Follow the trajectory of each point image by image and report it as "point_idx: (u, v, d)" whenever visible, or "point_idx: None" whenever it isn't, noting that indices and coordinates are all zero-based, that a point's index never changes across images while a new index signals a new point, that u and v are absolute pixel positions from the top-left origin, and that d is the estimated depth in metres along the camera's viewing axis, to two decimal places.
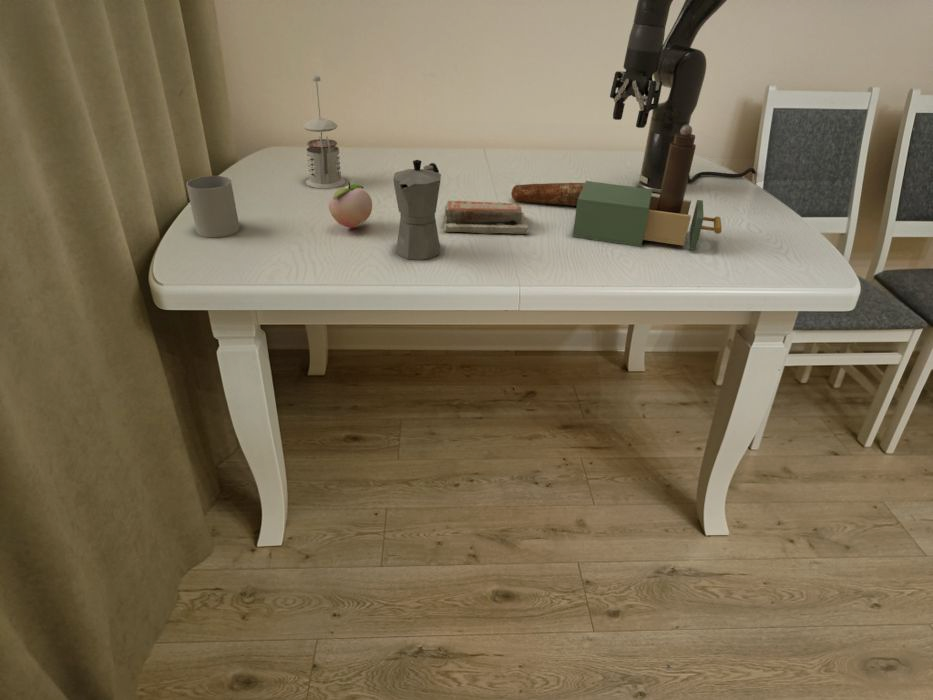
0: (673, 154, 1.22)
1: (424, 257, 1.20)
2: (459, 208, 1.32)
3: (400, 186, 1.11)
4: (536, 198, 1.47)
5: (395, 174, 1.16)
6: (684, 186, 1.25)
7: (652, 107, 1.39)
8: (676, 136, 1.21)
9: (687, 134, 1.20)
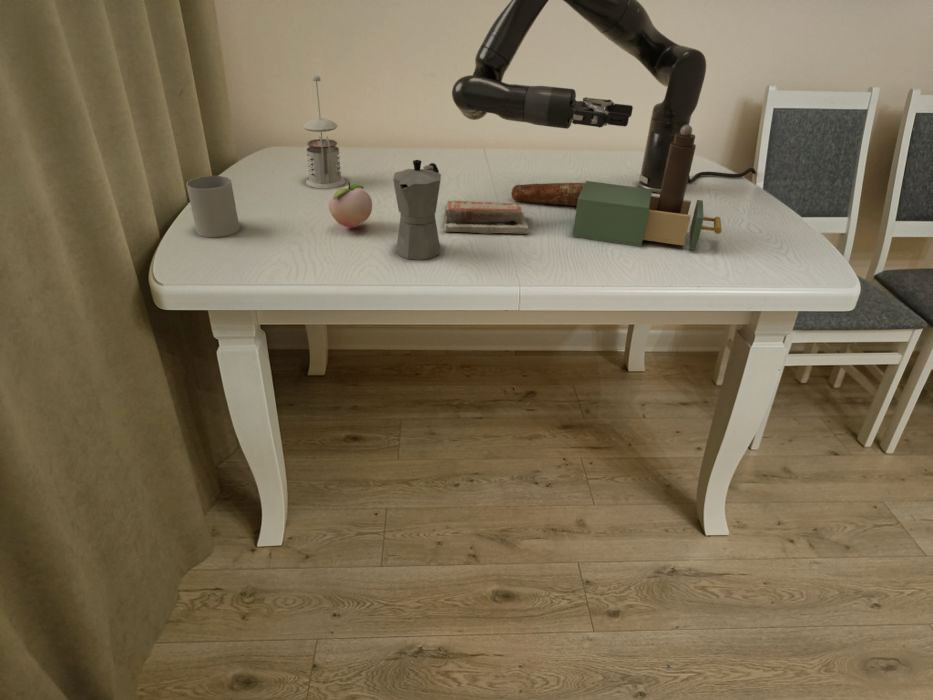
0: (673, 154, 1.22)
1: (424, 257, 1.20)
2: (459, 208, 1.32)
3: (400, 186, 1.11)
4: (536, 198, 1.47)
5: (395, 174, 1.16)
6: (684, 186, 1.25)
7: (600, 121, 1.18)
8: (676, 136, 1.21)
9: (687, 134, 1.20)
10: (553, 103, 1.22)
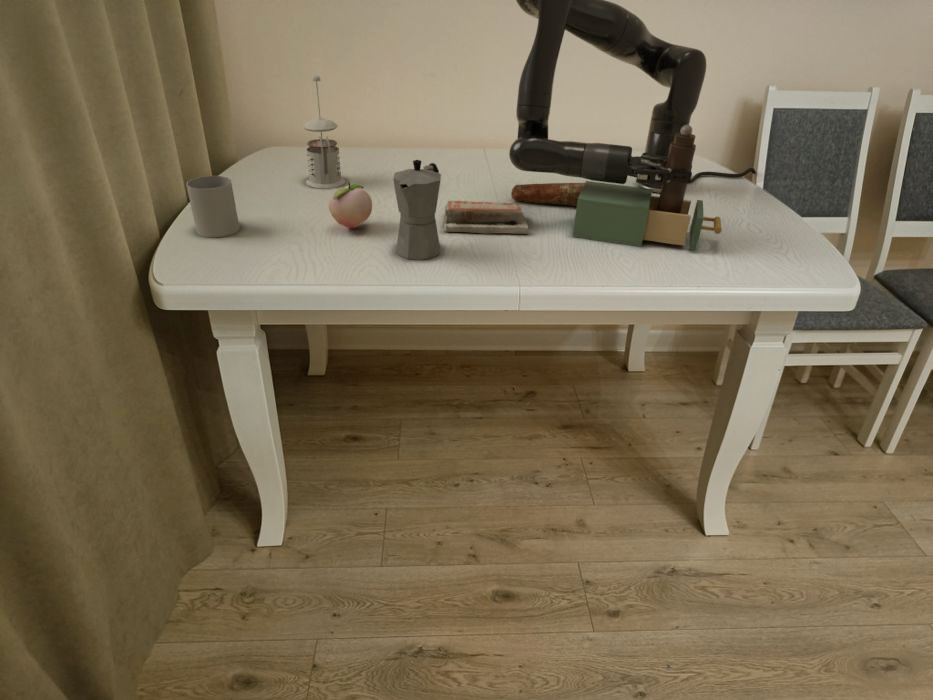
0: (673, 154, 1.22)
1: (424, 257, 1.20)
2: (459, 208, 1.32)
3: (400, 186, 1.11)
4: (536, 198, 1.47)
5: (395, 174, 1.16)
6: (684, 186, 1.25)
7: (664, 179, 1.21)
8: (676, 136, 1.21)
9: (687, 134, 1.20)
10: (611, 161, 1.25)
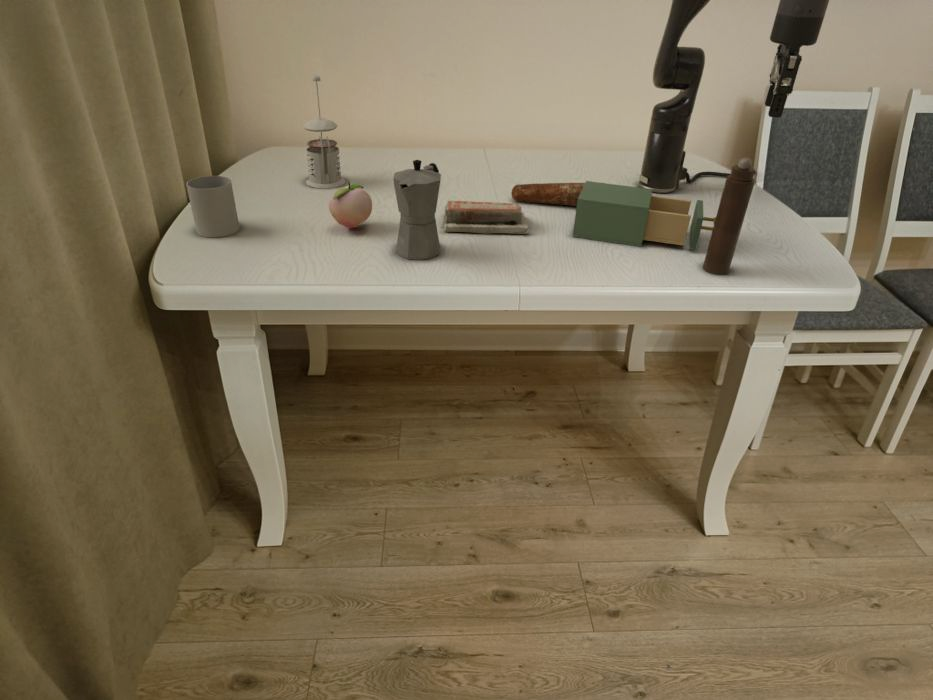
0: (730, 190, 1.11)
1: (424, 257, 1.20)
2: (459, 208, 1.32)
3: (400, 186, 1.11)
4: (536, 198, 1.47)
5: (395, 174, 1.16)
6: (740, 223, 1.14)
7: (782, 90, 1.06)
8: (734, 170, 1.10)
9: (746, 168, 1.09)
10: (809, 23, 1.03)
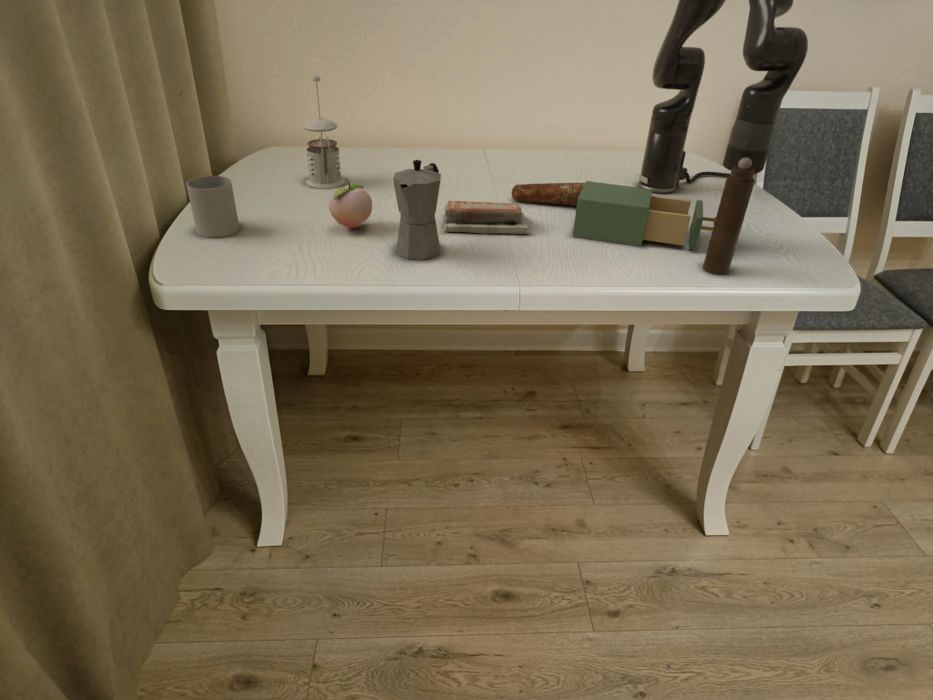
0: (730, 190, 1.11)
1: (424, 257, 1.20)
2: (459, 208, 1.32)
3: (400, 186, 1.11)
4: (536, 198, 1.47)
5: (395, 174, 1.16)
6: (740, 223, 1.14)
7: None
8: (734, 170, 1.10)
9: (746, 168, 1.09)
10: (756, 156, 1.16)
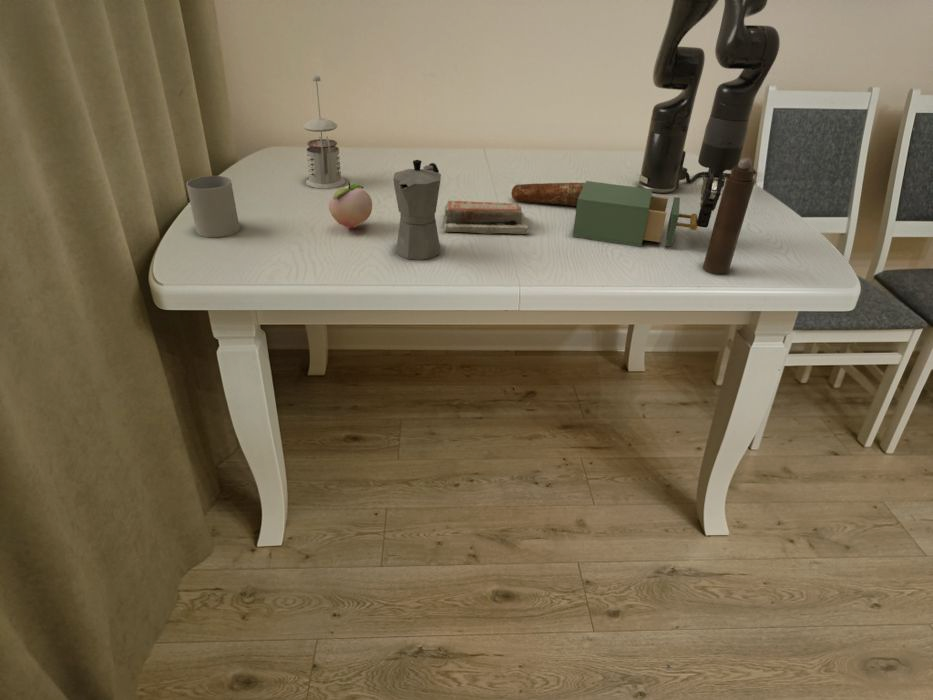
0: (730, 190, 1.11)
1: (424, 257, 1.20)
2: (459, 208, 1.32)
3: (400, 186, 1.11)
4: (536, 198, 1.47)
5: (395, 174, 1.16)
6: (740, 223, 1.14)
7: (706, 208, 1.24)
8: (734, 170, 1.10)
9: (746, 168, 1.09)
10: (730, 153, 1.18)
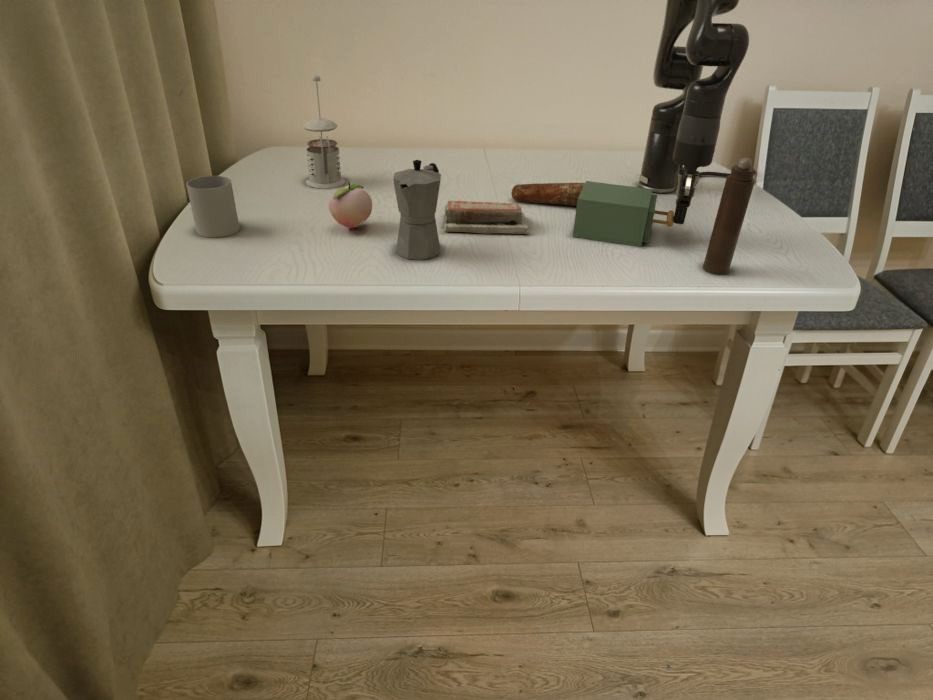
0: (730, 190, 1.11)
1: (424, 257, 1.20)
2: (459, 208, 1.32)
3: (400, 186, 1.11)
4: (536, 198, 1.47)
5: (395, 174, 1.16)
6: (740, 223, 1.14)
7: (681, 204, 1.25)
8: (734, 170, 1.10)
9: (746, 168, 1.09)
10: (703, 150, 1.19)
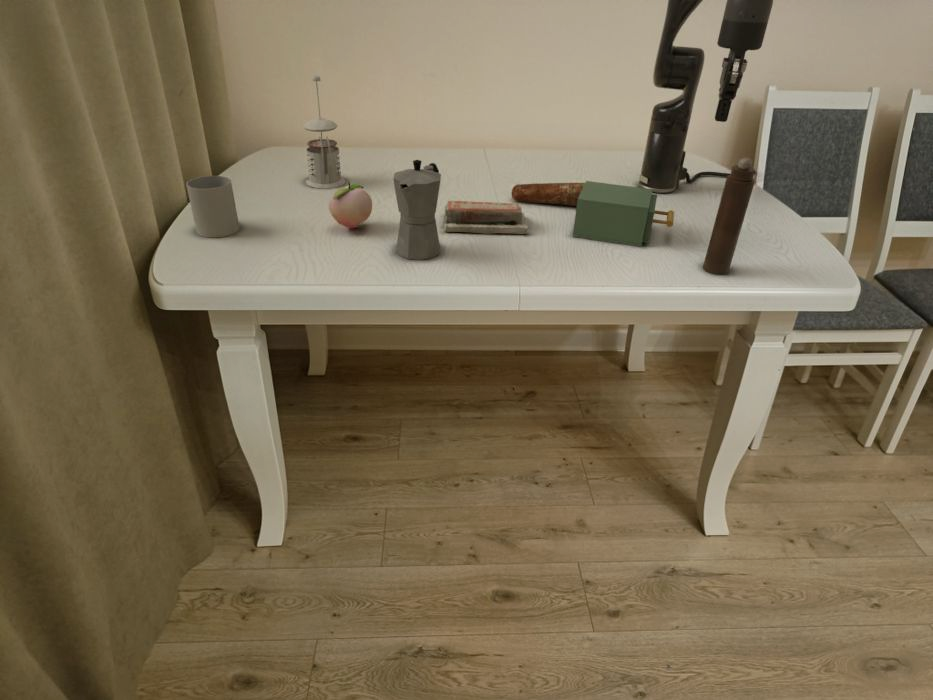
0: (730, 190, 1.11)
1: (424, 257, 1.20)
2: (459, 208, 1.32)
3: (400, 186, 1.11)
4: (536, 198, 1.47)
5: (395, 174, 1.16)
6: (740, 223, 1.14)
7: (726, 96, 1.13)
8: (734, 170, 1.10)
9: (746, 168, 1.09)
10: (753, 28, 1.06)
